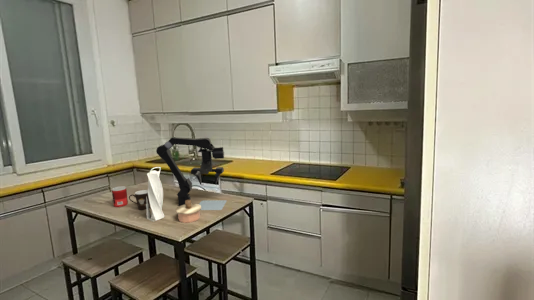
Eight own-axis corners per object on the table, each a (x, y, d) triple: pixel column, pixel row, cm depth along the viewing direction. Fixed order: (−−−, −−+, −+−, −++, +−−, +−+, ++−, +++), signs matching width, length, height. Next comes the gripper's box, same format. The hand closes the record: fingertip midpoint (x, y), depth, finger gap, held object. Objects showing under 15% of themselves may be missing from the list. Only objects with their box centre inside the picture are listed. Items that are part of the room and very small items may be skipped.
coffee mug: (155, 206, 176) (153, 190, 175) (144, 211, 168) (143, 194, 167) (139, 204, 180) (138, 189, 178) (129, 209, 172) (127, 193, 170)
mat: (193, 210, 167) (193, 209, 167) (201, 201, 183) (201, 200, 183) (221, 210, 166) (221, 209, 166) (227, 201, 182) (227, 200, 182)
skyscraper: (160, 214, 164) (155, 165, 160) (168, 217, 159) (164, 167, 154) (146, 219, 158) (141, 168, 153) (154, 222, 153) (149, 170, 148)
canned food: (130, 203, 182) (128, 186, 180) (119, 208, 175) (117, 190, 173) (122, 202, 185) (120, 185, 184) (110, 206, 178) (108, 189, 176)
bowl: (175, 222, 151) (174, 213, 150) (182, 214, 162) (182, 205, 161) (196, 222, 150) (195, 213, 150) (202, 214, 161) (201, 205, 160)
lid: (172, 214, 149) (171, 204, 149) (181, 205, 162) (180, 196, 161) (197, 214, 149) (196, 204, 148) (204, 205, 161) (203, 196, 161)
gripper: (186, 162, 167) (188, 188, 169) (219, 161, 165) (220, 188, 168) (192, 158, 178) (194, 183, 180) (223, 157, 176) (224, 182, 179)
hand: (208, 184), depth 176 cm, fingers open, 9 cm apart
